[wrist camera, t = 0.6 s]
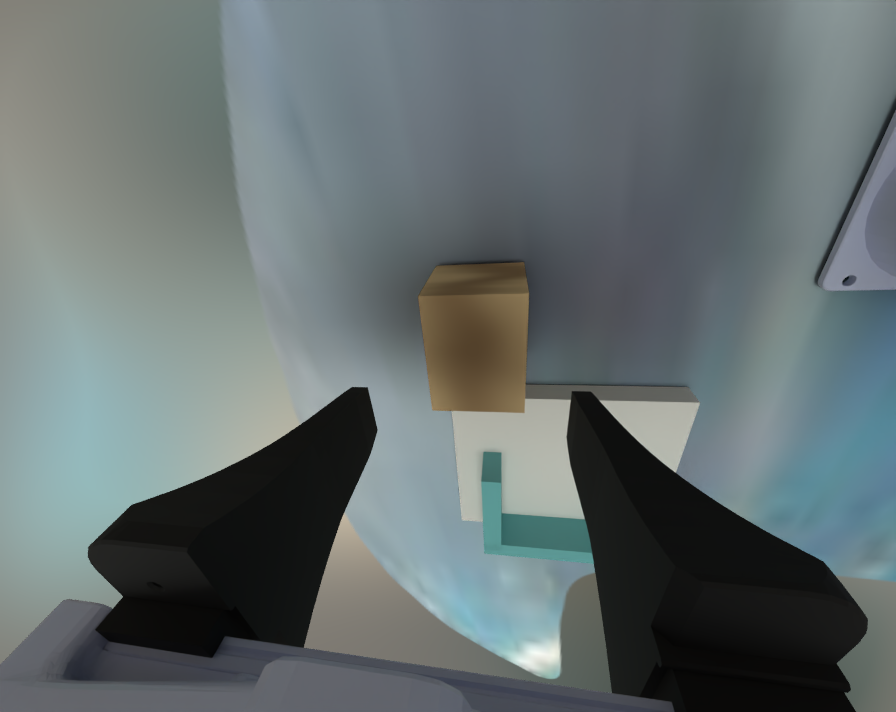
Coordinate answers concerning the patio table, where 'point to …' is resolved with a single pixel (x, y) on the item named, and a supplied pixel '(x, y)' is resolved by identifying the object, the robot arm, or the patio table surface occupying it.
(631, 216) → the patio table surface
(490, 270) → the cardboard box
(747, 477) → the patio table surface
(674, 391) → the dock
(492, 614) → the patio table surface
